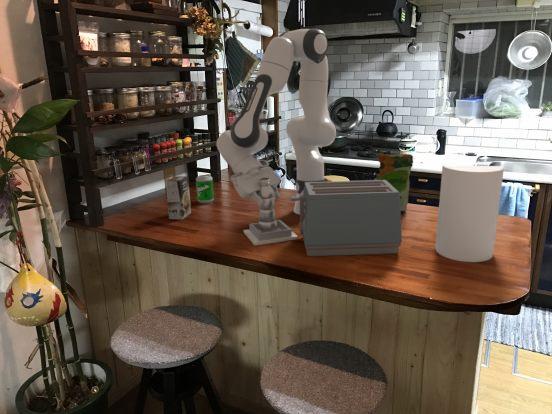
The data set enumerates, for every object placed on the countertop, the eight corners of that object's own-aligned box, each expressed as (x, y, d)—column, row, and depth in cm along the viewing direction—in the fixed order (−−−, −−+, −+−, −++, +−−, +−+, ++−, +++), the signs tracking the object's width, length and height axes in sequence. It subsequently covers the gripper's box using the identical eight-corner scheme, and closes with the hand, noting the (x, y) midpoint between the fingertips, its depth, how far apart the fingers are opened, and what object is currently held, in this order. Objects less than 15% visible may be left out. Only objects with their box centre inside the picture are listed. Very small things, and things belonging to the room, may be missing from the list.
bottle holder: (284, 226, 174) (284, 218, 173) (298, 239, 161) (297, 229, 160) (243, 232, 169) (243, 223, 168) (254, 245, 156) (254, 236, 155)
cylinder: (500, 263, 137) (511, 172, 129) (439, 260, 140) (447, 171, 132) (485, 242, 153) (494, 160, 145) (431, 240, 156) (438, 160, 148)
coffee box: (183, 219, 185) (180, 181, 180) (168, 219, 186) (164, 180, 182) (191, 213, 193) (188, 175, 189) (177, 212, 195) (174, 175, 190)
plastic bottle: (271, 237, 160) (267, 182, 154) (256, 234, 164) (251, 180, 158) (281, 230, 166) (277, 177, 159) (265, 228, 169) (261, 176, 163)
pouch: (412, 213, 185) (416, 152, 178) (389, 218, 180) (392, 155, 173) (394, 206, 195) (397, 148, 187) (371, 211, 190) (374, 151, 182)
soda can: (205, 198, 215) (203, 173, 211) (217, 200, 210) (215, 175, 207) (194, 202, 209) (192, 176, 205) (206, 204, 205) (204, 178, 201)
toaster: (290, 237, 163) (289, 181, 157) (386, 234, 164) (389, 178, 158) (293, 258, 145) (292, 196, 139) (401, 254, 146) (405, 193, 140)
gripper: (233, 170, 153) (257, 202, 151) (269, 160, 169) (291, 188, 166) (224, 181, 157) (247, 213, 154) (260, 170, 173) (281, 198, 170)
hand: (270, 200), depth 161 cm, fingers open, 8 cm apart
